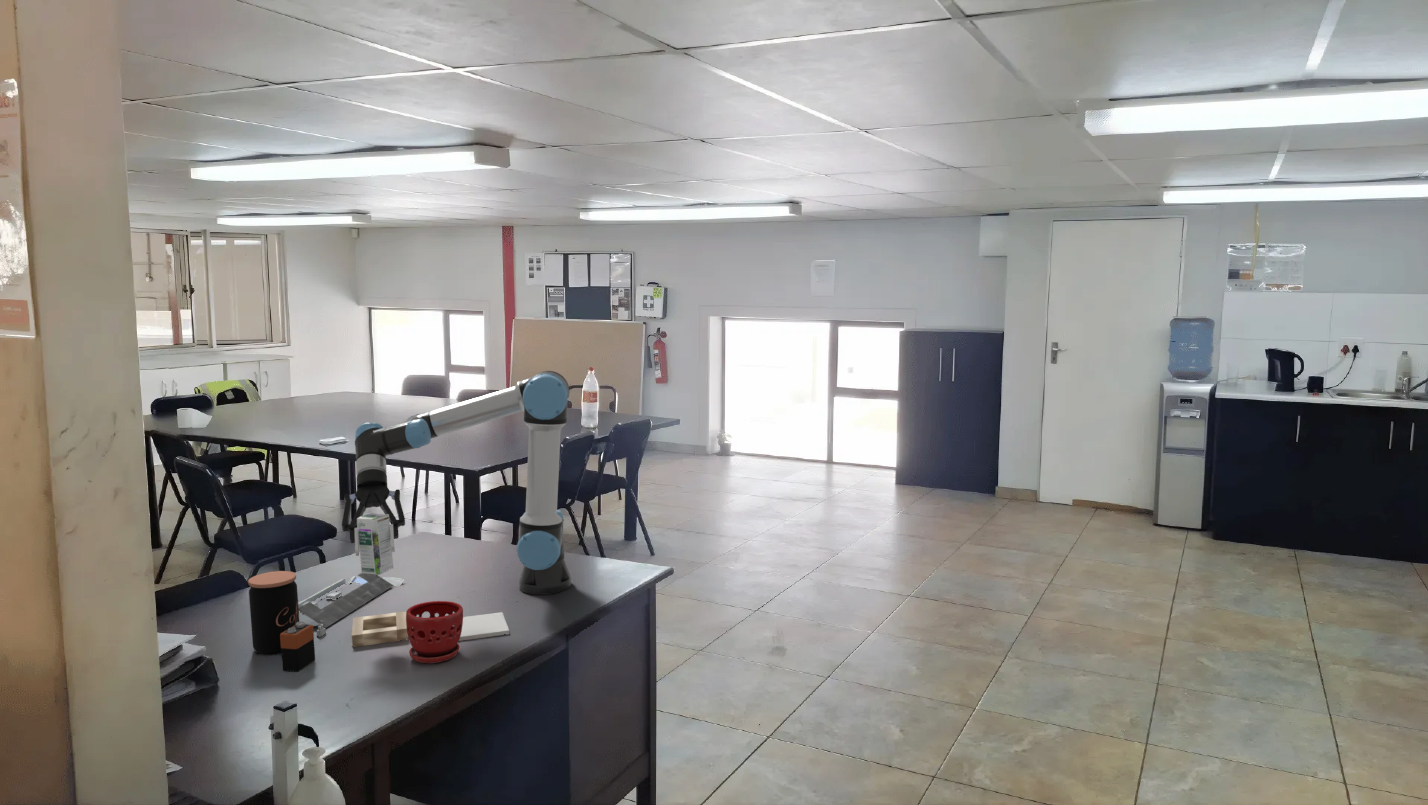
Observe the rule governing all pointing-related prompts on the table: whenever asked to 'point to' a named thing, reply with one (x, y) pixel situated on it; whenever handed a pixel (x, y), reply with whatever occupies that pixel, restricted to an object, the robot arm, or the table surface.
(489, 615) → the white mat
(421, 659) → the plant pot
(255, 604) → the coffee jar
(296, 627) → the battery
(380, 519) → the syrup box
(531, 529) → the robot arm
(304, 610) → the paper cutter
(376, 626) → the wooden holder
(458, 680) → the table surface
